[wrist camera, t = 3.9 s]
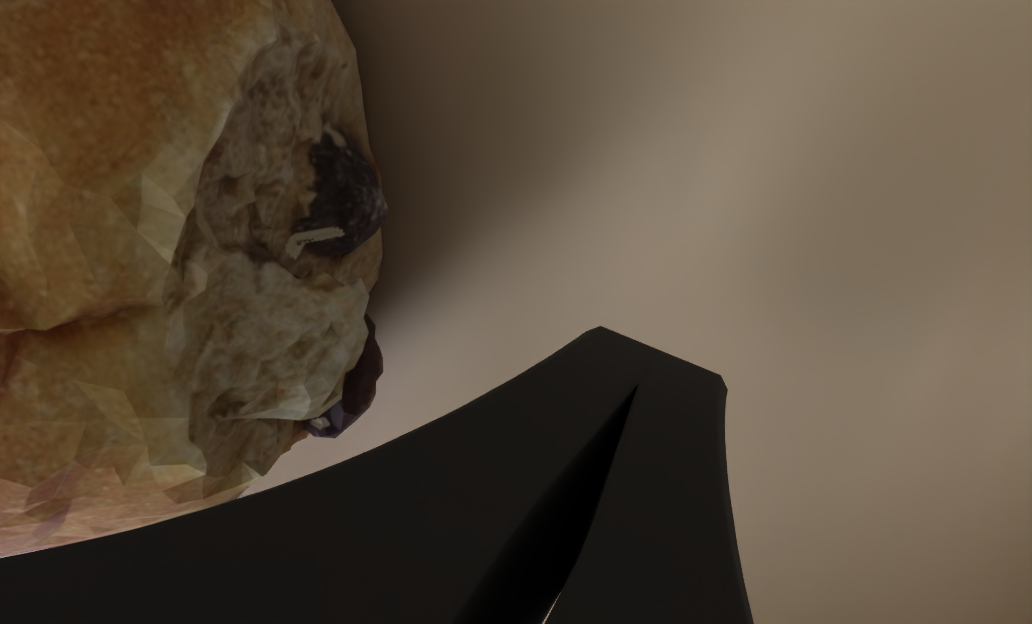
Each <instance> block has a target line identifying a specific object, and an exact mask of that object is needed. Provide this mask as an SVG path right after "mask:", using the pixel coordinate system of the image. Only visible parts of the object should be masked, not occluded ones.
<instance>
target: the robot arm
mask: <svg viewBox="0 0 1032 624" xmlns="http://www.w3.org/2000/svg"><path fill="white" fill-rule="evenodd" d="M727 391H728V390H727V388H726V385H725V383H724V381H723V379H722V377H721V375H719V374H716V373H714V372H711V371H709V370H707V369H704V368H702V367H699V366H697V365H694V364H692V363H689V362H687V361H685V360H682V359H680V358H677V357H675V356H672V355H670V354H668V353H665V352H663V351H660V350H658V349H655V348H653V347H650V346H648V345H646V344H643V343H641V342H638V341H636V340H633V339H631V338H629V337H626V336H624V335H621V334H619V333H616V332H614V331H611V330H609V329H607V328H604V327H602V326H599V327H597V328H594V329H591V330H589V331H586V332H585V333H583V334H582V335H580V336H579V337H578V338H576V339H575V340H573V341H572V342H570V343H569V344H567V345H566V346H564V347H563V348H561V349H560V350H558V351H557V352H555V353H554V354H552V355H550V356H549V357H547V358H546V359H544V360H542V361H541V362H539V363H538V364H536V365H534V366H533V367H531V368H529V369H528V370H526V371H524V372H523V373H521V374H519V375H518V376H516V377H514V378H513V379H511V380H509V381H507V382H505V383H504V384H502V385H500V386H498V387H496V388H495V389H493V390H491V391H489V392H487V393H486V394H484V395H482V396H480V397H478V398H476V399H475V400H473V401H471V402H469V403H467V404H466V405H464V406H462V407H460V408H458V409H456V410H454V411H452V412H450V413H448V414H446V415H444V416H442V417H440V418H438V419H436V420H434V421H432V422H430V423H427V424H425V425H423V426H421V427H419V428H417V429H415V430H413V431H410V432H408V433H406V434H404V435H402V436H400V437H398V438H396V439H393V440H391V441H389V442H387V443H385V444H383V445H381V446H378V447H376V448H374V449H372V450H369V451H367V452H364V453H362V454H360V455H357V456H355V457H352V458H350V459H348V460H345V461H343V462H340V463H338V464H335V465H333V466H330V467H327V468H325V469H322V470H320V471H317V472H314V473H312V474H309V475H306V476H303V477H301V478H298V479H295V480H292V481H290V482H287V483H284V484H281V485H279V486H276V487H273V488H270V489H267V490H264V491H261V492H258V493H255V494H252V495H248V496H245V497H242V498H239V499H235V500H232V501H229V502H226V503H222V504H219V505H216V506H213V507H209V508H206V509H203V510H200V511H196V512H193V513H189V514H186V515H182V516H179V517H175V518H171V519H168V520H164V521H161V522H157V523H154V524H150V525H147V526H143V527H140V528H136V529H132V530H128V531H124V532H120V533H116V534H112V535H107V536H103V537H98V538H94V539H89V540H85V541H80V542H76V543H71V544H66V545H62V546H57V547H53V548H48V549H44V550H39V551H35V552H30V553H25V554H20V555H15V556H10V557H4V558H0V624H542V622H543V621H544V619H545V617H546V616H547V614H548V612H549V611H550V609H551V607H552V606H553V604H554V602H555V601H556V599H557V597H558V596H559V597H558V599H557V601H556V603H555V605H554V607H553V609H552V610H551V612H550V614H549V616H548V618H547V620H546V622H545V624H754V623H753V619H752V614H751V610H750V605H749V601H748V597H747V592H746V588H745V583H744V578H743V573H742V568H741V563H740V557H739V552H738V547H737V540H736V533H735V526H734V520H733V513H732V506H731V500H730V493H729V483H728V474H727V461H726V446H725V406H726V396H727ZM560 592H561V593H560ZM559 594H560V595H559Z"/></svg>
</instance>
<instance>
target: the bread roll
mask: <svg viewBox="0 0 1032 624" xmlns="http://www.w3.org/2000/svg"><path fill="white" fill-rule="evenodd" d="M381 183H382V177H381V174H380V172H379V170H378V167H377V165H376V162H375V160H374V157H373V155H372V152H371V150H370V145H369V138H368V132H367V125H366V119H365V112H364V106H363V95H362V85H361V81H360V76H359V71H358V66H357V55H356V49H355V47H354V45H353V43H352V41H351V39H350V37H349V35H348V33H347V31H346V29H345V27H344V25H343V23H342V21H341V19H340V17H339V15H338V13H337V11H336V9H335V7H334V5H333V3H332V1H331V0H0V556H6V555H11V554H17V553H22V552H28V551H33V550H39V549H46V548H53V547H57V546H62V545H66V544H71V543H76V542H80V541H85V540H89V539H94V538H98V537H103V536H107V535H112V534H116V533H120V532H124V531H128V530H132V529H136V528H140V527H143V526H147V525H150V524H154V523H157V522H161V521H164V520H168V519H171V518H175V517H179V516H182V515H186V514H189V513H193V512H196V511H200V510H203V509H206V508H209V507H213V506H216V505H219V504H222V503H226V502H229V501H232V500H235V499H237V498H238V497H239V496H240V495H241V494H242V493H243V491H244V490H245V489H246V488H247V487H248V486H249V485H251V484H252V483H254V482H255V481H257V480H258V479H260V478H261V477H263V476H264V475H266V474H267V472H268V471H269V470H270V468H271V467H272V466H273V464H274V463H275V462H276V460H277V459H278V458H279V456H280V455H282V454H283V453H285V452H287V451H289V450H290V448H291V446H292V445H293V444H294V443H296V442H298V441H300V440H302V439H305V438H307V436H308V434H309V433H310V434H312V435H313V436H315V437H325V438H336V437H337V436H338V435H339V434H341V433H342V432H343V431H344V430H345V429H346V428H348V427H349V426H350V425H351V424H352V423H353V422H355V421H356V420H357V419H358V418H359V417H360V416H361V415H362V414H363V413H364V412H365V411H366V410H367V409H368V408H369V407H370V405H371V403H372V401H373V399H374V397H375V394H376V381H377V379H378V378H379V377H380V376H381V374H382V373H383V358H382V354H381V351H380V348H379V346H378V344H377V342H376V340H375V324H374V323H373V321H372V320H371V319H370V317H369V316H368V314H367V313H366V312H365V311H366V307H367V303H368V300H369V295H368V293H369V292H370V290H371V289H372V287H373V286H374V284H375V283H376V281H377V280H378V278H379V273H380V267H381V262H382V256H383V250H382V237H381V225H382V223H383V222H384V220H385V217H386V215H387V212H388V210H389V209H388V206H387V204H386V201H385V199H384V196H383V194H382V191H381Z"/></svg>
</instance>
